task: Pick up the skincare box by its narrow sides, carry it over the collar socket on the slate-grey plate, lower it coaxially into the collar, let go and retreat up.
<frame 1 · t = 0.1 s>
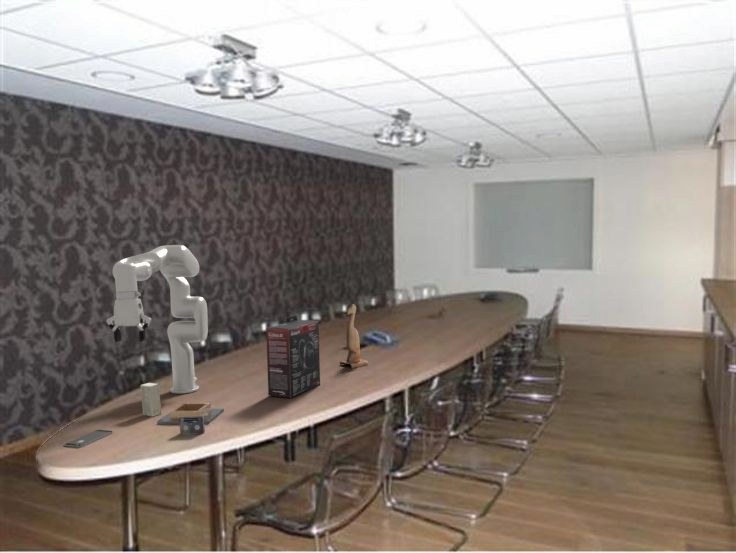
hand: (130, 341, 230), 31 cm above the table, tool pointing down, fingers open, 9 cm apart
collar socket: (191, 417, 235), on the table
mini dv tape: (192, 433, 216), on the table
bird sculpture: (354, 365, 315), on the table
headset box: (295, 391, 269), on the table
skincare box: (151, 415, 241), on the table
phone: (89, 440, 214), on the table
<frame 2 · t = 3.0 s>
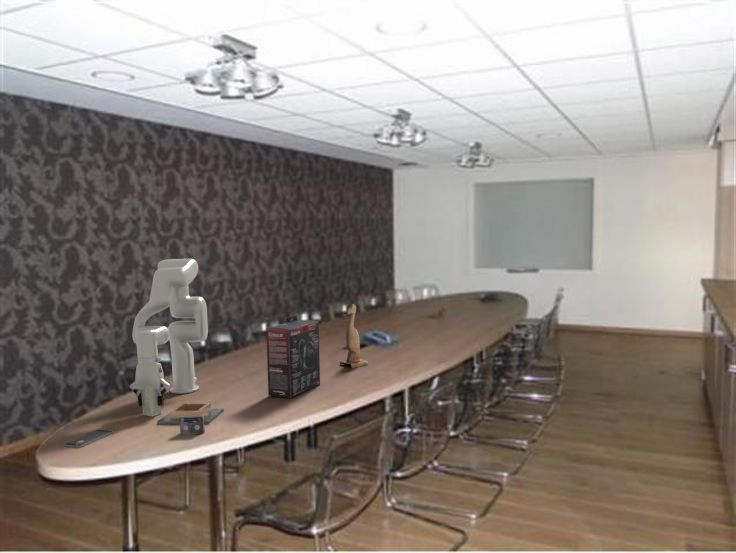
hand: (151, 404, 240), 4 cm above the table, tool pointing down, fingers closed on skincare box, 7 cm apart
skincare box: (151, 415, 241), on the table, touching gripper
everything else where it was.
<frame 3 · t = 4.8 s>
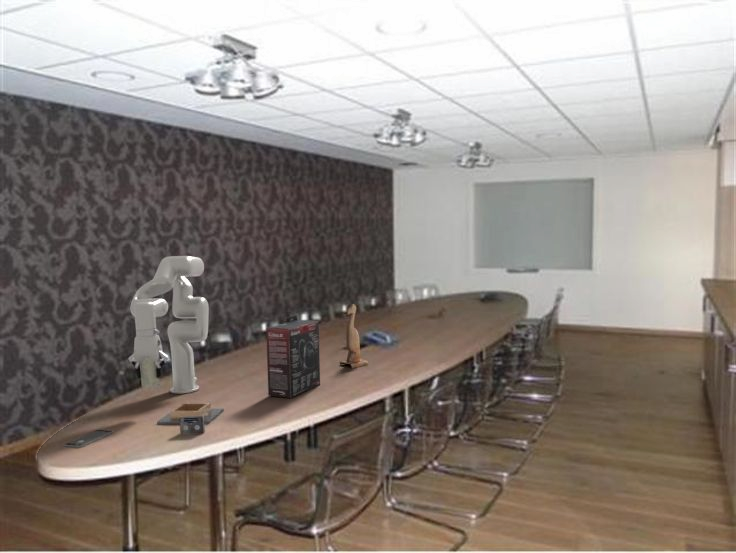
hand: (149, 377, 240), 15 cm above the table, tool pointing down, fingers closed on skincare box, 7 cm apart
skincare box: (150, 387, 241), point 11 cm above the table, touching gripper
everything else where it was.
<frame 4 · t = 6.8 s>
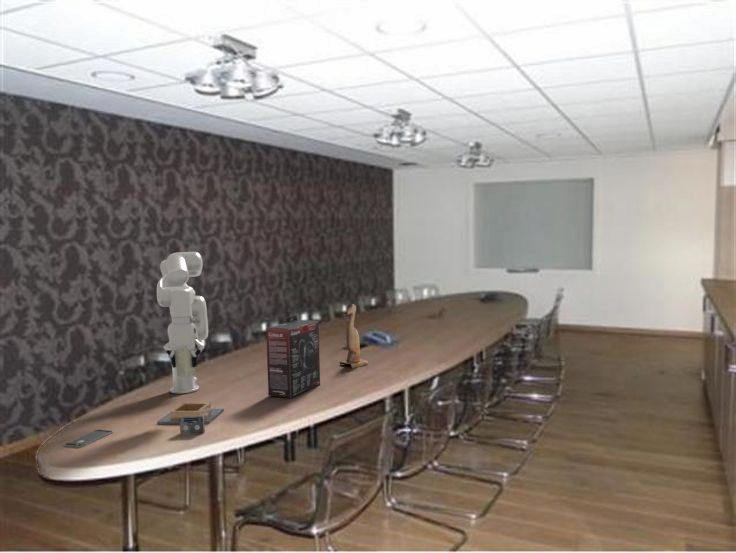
hand: (185, 366, 234), 20 cm above the table, tool pointing down, fingers closed on skincare box, 7 cm apart
skincare box: (185, 376, 234), point 16 cm above the table, touching gripper
everything else where it was.
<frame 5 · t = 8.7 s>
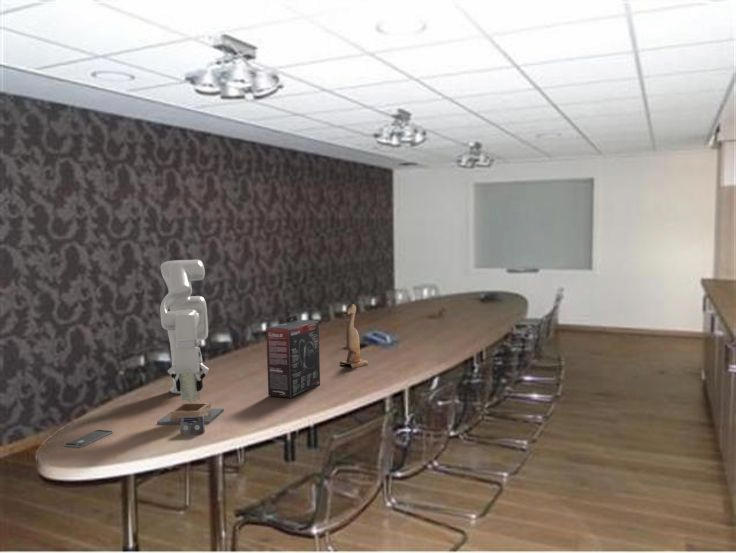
hand: (189, 390, 234), 11 cm above the table, tool pointing down, fingers closed on skincare box, 7 cm apart
skincare box: (190, 400, 234), point 7 cm above the table, touching gripper
everything else where it was.
when the fingers open (6 cm above the table, at t = 10.6 s): skincare box drops 1 cm, resting on collar socket.
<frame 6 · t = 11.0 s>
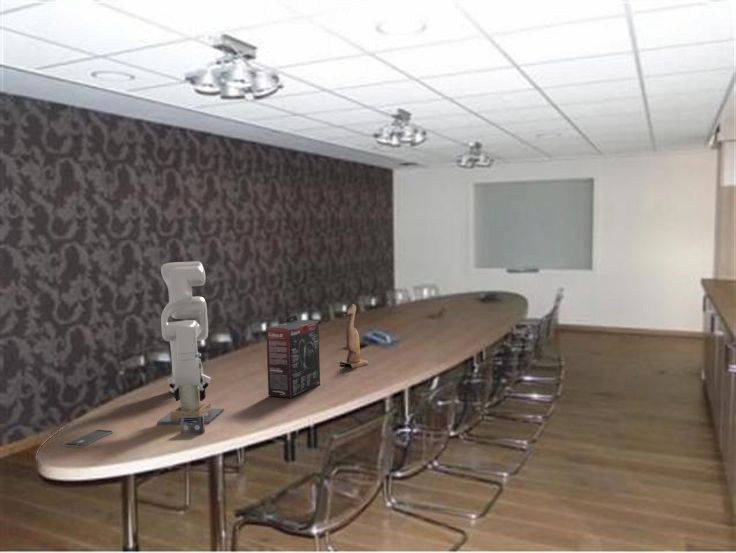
hand: (190, 400, 234), 7 cm above the table, tool pointing down, fingers open, 9 cm apart
skincare box: (190, 415, 235), point 1 cm above the table, touching collar socket
everything else where it was.
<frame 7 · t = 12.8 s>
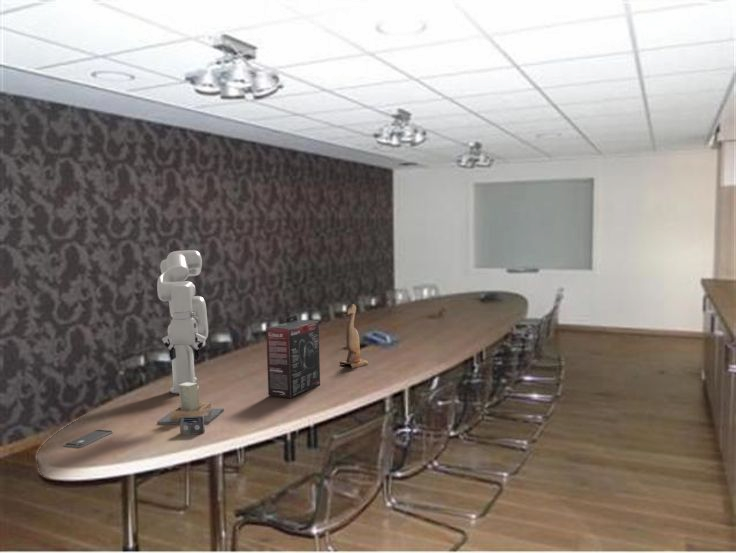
hand: (185, 358, 238), 22 cm above the table, tool pointing down, fingers open, 9 cm apart
nothing on the table moved.
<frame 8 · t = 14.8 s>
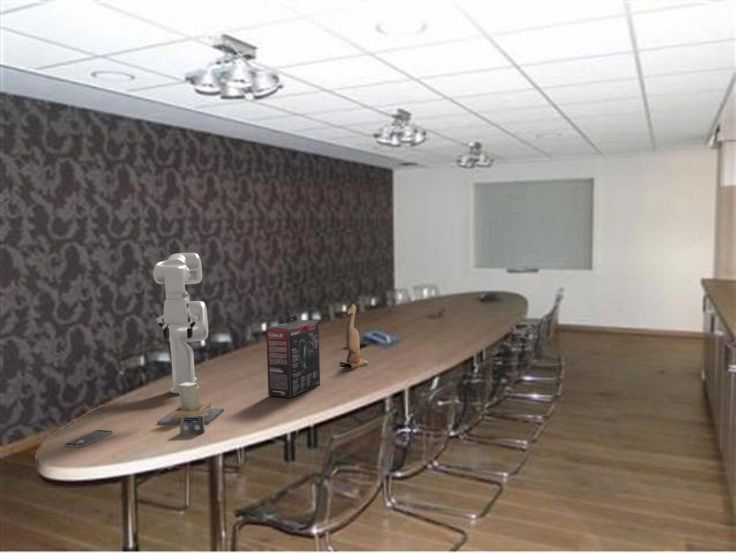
hand: (178, 338, 249), 28 cm above the table, tool pointing down, fingers open, 9 cm apart
nothing on the table moved.
at the end: skincare box 0.5 cm off-centre on the collar socket, point 0.8 cm above the collar socket's base; skincare box tilted 0°; the gripper is holding nothing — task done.
